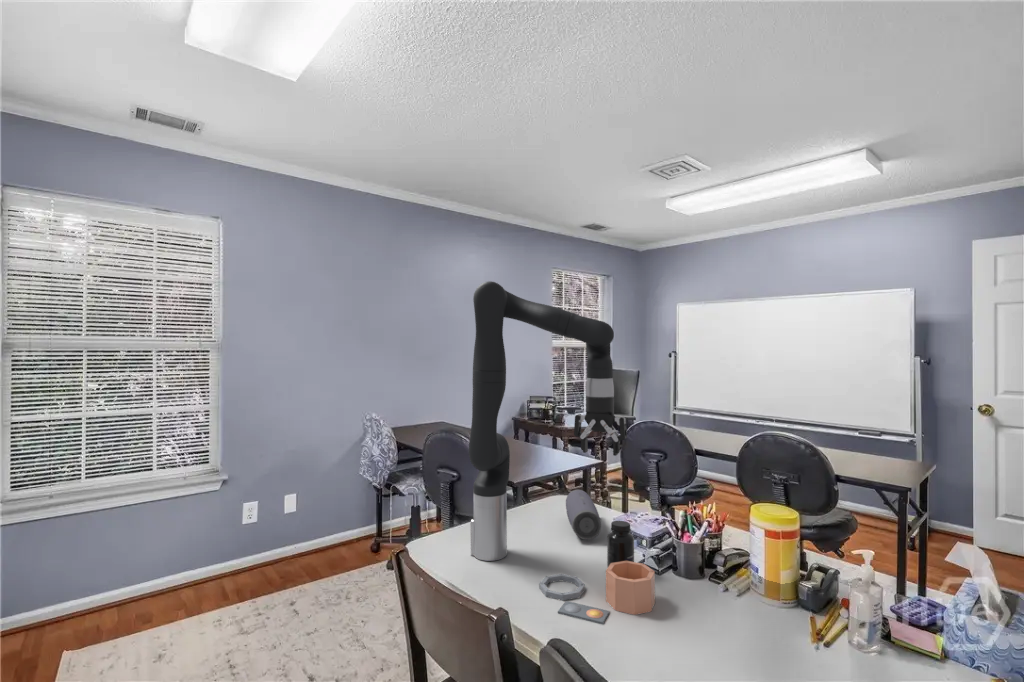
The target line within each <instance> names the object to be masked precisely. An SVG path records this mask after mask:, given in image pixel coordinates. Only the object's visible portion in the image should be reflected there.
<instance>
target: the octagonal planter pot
mask: <svg viewBox="0 0 1024 682" xmlns="http://www.w3.org/2000/svg"><path fill="white" fill-rule="evenodd" d="M655 574H656V571H655V570H653V569H652V568H651V567H649V566H648V565H647V564H645V563H641V562H636V561H634V562H631V561H621V562H615V563H611V564H610V565H609V567H608V568H606V569H605V593H606V594H605V602H606V603H607V602H608V603H609V604H608V603H607V604H608V605H609V606H610V605H611V606H610V607H611V608H612V607H613V609H614V611H617V612H621V613H624V614H630V615H634V616H637V615H640V614H645V613H650V612H652V610H653V609H654V605H655V603H656V598H655V597H656V587H655V585H656V581H655V580H656V579H655ZM632 579H633V580H632Z"/></svg>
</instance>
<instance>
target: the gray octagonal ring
mask: <svg viewBox="0 0 1024 682" xmlns="http://www.w3.org/2000/svg"><path fill="white" fill-rule="evenodd" d="M559 580H563V581H562V582H566V581H567V583H571V582H572V583H571V584H575V585H576V587H577V588H576V589H575V590H572V591H571V590H570V591H566V592H560V591H556V590H551V589H549V588H548V587H547V586H548V585H549V584H550V583H554V582H553V581H556V582H560V581H559ZM549 582H550V583H549ZM538 585H539V586H538V587H539V590H540V591H541V592H542V594H543V593H544V594H543V595H544V596H545V597H546V598H550V597H552V598H551V599H554V598H556V599H555V600H558V599H560V601H568V600H567V599H569V600H572V599H571V598H574V599H579V598H581V596H582V595H583V593H584V592H585V591H586V584H585V583H584V582H583V581H582V580H581V579H580V578H579V577H578V576H575V575H569V574H565V573H558V574H551V575H545V577H544V578H543V579H542V580H541V581H540V582H539V583H538ZM546 585H547V586H546Z"/></svg>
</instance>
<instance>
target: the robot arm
mask: <svg viewBox="0 0 1024 682" xmlns="http://www.w3.org/2000/svg"><path fill="white" fill-rule="evenodd" d="M472 301H473V308H474V309H473V310H474V322H475V337H474V338H475V339H474V346H473V348H474V349H473V358H472V359H473V360H472V363H473V364H472V401H471V402H472V403H471V404H472V405H471V406H472V407H471V408H472V409H471V411H472V414H471V415H472V417H471V426H470V435H469V444H468V457H469V461H470V463H471V465H472V466H473V467H474V468H475V469H476V470H478V473H477V476H476V478H475V480H474V482H473V490H472V493H473V518H472V519H471V520H470V556H472V557H473V556H474V557H475V558H476V559H478V560H479V561H486V562H487V561H488V562H489V561H493V562H494V561H499V560H501V559H504V558H506V556H507V555H508V524H507V523H508V519H507V517H508V514H507V512H508V506H507V505H508V503H507V500H508V499H507V497H508V496H507V494H508V493H507V492H508V491H507V490H508V489H507V486H508V482H509V480H510V479H509V478H510V463H511V462H510V458H511V457H510V445H509V442H508V440H507V439H506V437H505V436H504V435H503V434H501V433H498V431H497V427H498V426H497V424H498V417H499V413H500V409H501V405H502V402H503V399H504V396H505V392H506V386H507V385H506V384H507V359H506V350H505V343H504V336H503V334H504V332H503V331H504V329H503V328H504V319H505V318H506V319H512V320H515V321H519V322H522V323H526V324H529V325H531V326H533V327H535V328H538V329H541V330H542V331H543V330H544V331H546V332H549V333H552V334H555V335H558V336H562V337H564V338H567V339H568V338H569V339H575V340H577V341H580V342H583V343H585V348H586V356H587V357H586V359H587V361H586V384H585V385H586V386H585V408H586V409H585V412H586V413H585V414H584V415H583V414H581V413H578V414H575V415H574V427H573V429H574V431H573V435H574V436H575V437H578V438H580V449H581V451H582V452H583V453H585V454H586V453H588V449H589V447H588V445H589V444H588V442H589V441H588V438H587V437H588V436H590V433H591V432H592V431H593V432H595V433H596V432H599V433H608V435H609V436H610V437H611V438H612V440H613V441H612V450H613V451H612V454H613V455H612V456H614V457H617V456H618V455H619V454H620V452H621V441H624V440H626V439H627V438H628V431H627V430H628V428H627V418H626V416H621V417H620V416H617V417H616V415H615V397H614V396H615V386H614V377H613V372H614V371H613V360H612V358H611V343H612V342H613V340H614V336H615V334H614V329H613V327H612V326H611V325H610V324H609V323H608V322H605V321H602V320H599V319H595V318H591V317H587V316H582V315H579V314H577V313H575V312H572V311H569V310H566V309H562V308H560V307H555V306H552V305H548V304H544V303H539V302H535V301H532V300H527V299H525V298H522V297H519V296H517V295H515V294H513V293H511V292H510V291H508V290H506V289H505V288H504V287H503V286H502V285H501V284H499V283H498V282H495V281H491V280H490V281H489V280H488V281H485V282H482V283H481V284H479V285H478V286H477V287H476V289H475V290H474V293H473V299H472ZM584 420H585V423H586V424H587V426H586V427H585V429H584V431H582V424H583V422H584ZM615 423H616V424H617V425H618V426H619V433H618V432H617V430H616V428H615V427H614V424H615ZM619 434H620V435H619Z"/></svg>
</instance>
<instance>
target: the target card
mask: <svg viewBox="0 0 1024 682" xmlns="http://www.w3.org/2000/svg"><path fill="white" fill-rule="evenodd" d="M557 613H558V614H561V615H563V614H564V616H567V617H571V618H576V619H581V620H585V621H588V622H591V623H592V622H593V623H596V624H601V625H604V623H605V621H606V620H607V618H608V616H609V615H610V610H607V609H603V608H598V607H593V606H589V605H586V604H581V603H578V602H573V601H570V600H564V603H563V604H562V605H561V607H560V608H559V609H558V610H557Z"/></svg>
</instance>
